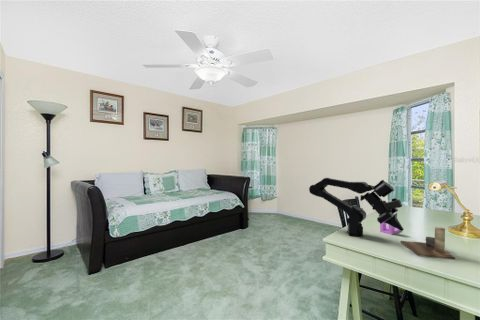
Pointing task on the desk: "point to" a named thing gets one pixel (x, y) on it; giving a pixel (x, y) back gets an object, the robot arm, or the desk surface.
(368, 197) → the robot arm
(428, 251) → the brown board
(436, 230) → the crank handle
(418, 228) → the desk surface
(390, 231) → the bracket
